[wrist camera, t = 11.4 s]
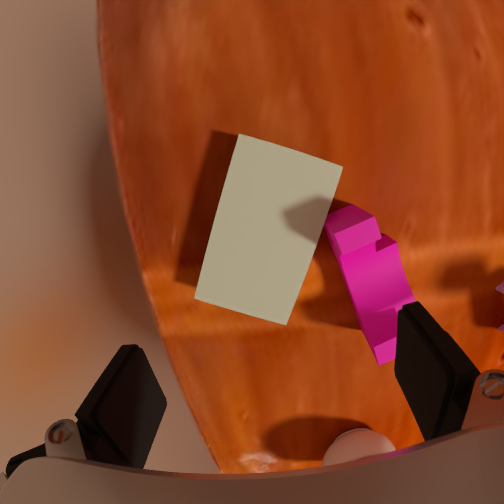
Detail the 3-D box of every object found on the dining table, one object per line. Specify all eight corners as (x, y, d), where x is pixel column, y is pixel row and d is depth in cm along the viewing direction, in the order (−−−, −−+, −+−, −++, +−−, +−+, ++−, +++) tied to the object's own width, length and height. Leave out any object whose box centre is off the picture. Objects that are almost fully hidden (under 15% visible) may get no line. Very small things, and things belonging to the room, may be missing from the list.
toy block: (405, 308, 34) (431, 340, 27) (361, 329, 35) (378, 365, 28) (371, 194, 30) (399, 205, 23) (319, 217, 31) (334, 233, 24)
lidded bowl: (395, 442, 41) (411, 488, 31) (330, 467, 44) (337, 515, 33) (380, 405, 38) (400, 459, 28) (305, 435, 41) (310, 492, 30)
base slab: (242, 136, 30) (239, 133, 26) (335, 166, 30) (343, 166, 27) (201, 285, 34) (194, 298, 31) (284, 310, 35) (286, 325, 31)
